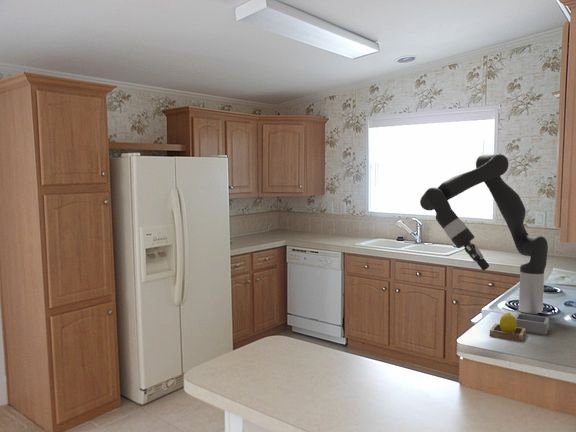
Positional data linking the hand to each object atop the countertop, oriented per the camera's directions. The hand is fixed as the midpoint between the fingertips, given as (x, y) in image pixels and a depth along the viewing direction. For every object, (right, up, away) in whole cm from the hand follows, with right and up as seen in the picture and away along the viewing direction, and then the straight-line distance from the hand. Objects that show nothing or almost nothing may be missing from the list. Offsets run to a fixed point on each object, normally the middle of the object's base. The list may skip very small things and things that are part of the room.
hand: (486, 268), depth 168 cm
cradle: (+6, -23, -4) cm, 24 cm away
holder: (+18, -23, +4) cm, 30 cm away
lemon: (+6, -24, -4) cm, 25 cm away
